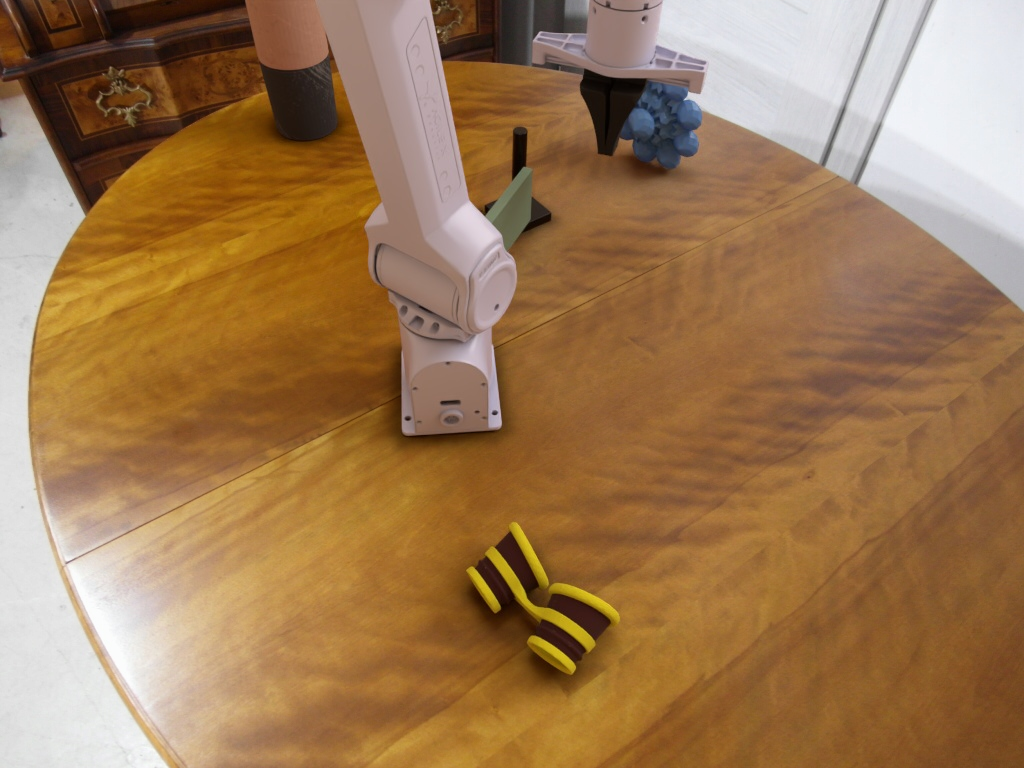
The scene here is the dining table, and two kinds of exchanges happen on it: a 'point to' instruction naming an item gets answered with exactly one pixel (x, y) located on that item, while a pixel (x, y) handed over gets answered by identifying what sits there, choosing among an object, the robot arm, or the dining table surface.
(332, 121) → the travel mug
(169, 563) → the dining table surface
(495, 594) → the opera glasses
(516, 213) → the gate door
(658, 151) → the grapes
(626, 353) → the dining table surface
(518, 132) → the hinge post
